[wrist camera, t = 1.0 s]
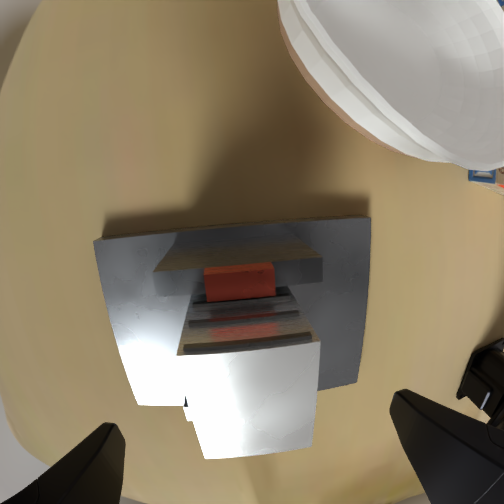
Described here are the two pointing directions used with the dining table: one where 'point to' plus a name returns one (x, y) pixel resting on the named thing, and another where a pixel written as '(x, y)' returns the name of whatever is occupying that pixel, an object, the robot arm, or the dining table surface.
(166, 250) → the grey stepped stand
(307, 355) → the column
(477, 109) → the bowl
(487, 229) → the dining table surface
